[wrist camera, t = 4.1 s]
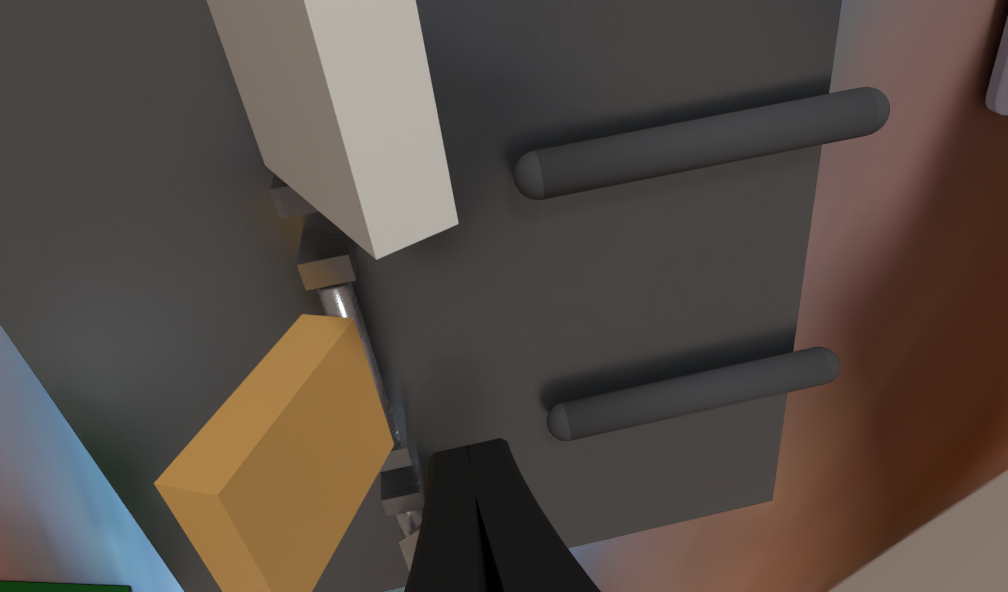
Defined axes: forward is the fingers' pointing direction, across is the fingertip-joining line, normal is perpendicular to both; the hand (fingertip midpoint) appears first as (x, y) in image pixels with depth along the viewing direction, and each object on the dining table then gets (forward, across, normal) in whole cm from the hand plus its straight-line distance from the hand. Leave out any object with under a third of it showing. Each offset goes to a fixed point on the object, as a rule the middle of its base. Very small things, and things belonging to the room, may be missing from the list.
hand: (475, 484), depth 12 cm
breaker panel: (+6, 0, 0) cm, 6 cm away
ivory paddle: (+4, +2, -7) cm, 8 cm away
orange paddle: (+4, +2, 0) cm, 4 cm away
